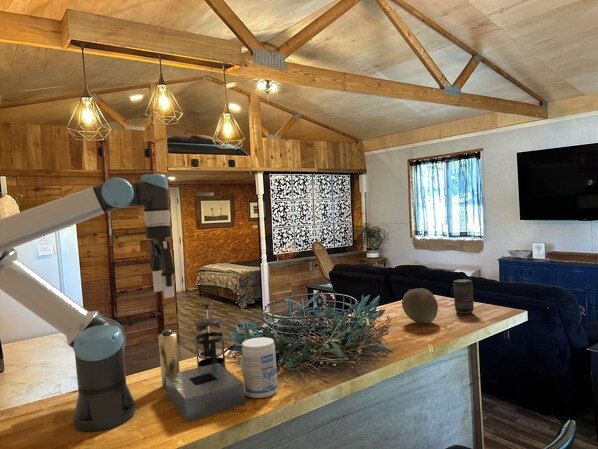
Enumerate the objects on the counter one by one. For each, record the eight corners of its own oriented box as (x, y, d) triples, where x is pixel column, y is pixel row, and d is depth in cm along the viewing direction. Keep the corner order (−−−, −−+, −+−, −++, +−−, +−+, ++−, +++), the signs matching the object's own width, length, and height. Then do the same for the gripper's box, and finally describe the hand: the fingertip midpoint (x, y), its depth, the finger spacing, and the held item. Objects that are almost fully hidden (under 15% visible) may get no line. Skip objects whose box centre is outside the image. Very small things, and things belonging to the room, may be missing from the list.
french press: (230, 373, 140) (224, 303, 140) (201, 380, 136) (195, 308, 136) (220, 363, 151) (215, 297, 150) (193, 368, 147) (188, 302, 146)
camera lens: (475, 312, 194) (474, 279, 194) (472, 316, 188) (470, 282, 187) (457, 310, 199) (455, 278, 198) (452, 315, 192) (451, 281, 191)
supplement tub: (270, 400, 119) (266, 348, 118) (239, 398, 122) (235, 346, 121) (282, 386, 128) (279, 337, 127) (253, 384, 131) (249, 336, 130)
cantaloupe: (425, 317, 191) (423, 284, 190) (445, 325, 178) (443, 289, 177) (397, 322, 187) (395, 287, 186) (416, 330, 173) (414, 293, 173)
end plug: (164, 390, 130) (160, 334, 130) (160, 385, 135) (156, 330, 134) (182, 385, 133) (178, 330, 132) (177, 380, 138) (173, 327, 137)
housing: (186, 422, 109) (185, 399, 109) (167, 395, 127) (165, 375, 126) (245, 404, 117) (243, 382, 117) (219, 381, 135) (217, 362, 134)
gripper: (181, 224, 123) (187, 297, 124) (161, 224, 145) (166, 287, 146) (154, 226, 119) (160, 302, 120) (137, 226, 141) (142, 290, 142)
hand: (163, 294), depth 133 cm, fingers open, 13 cm apart
